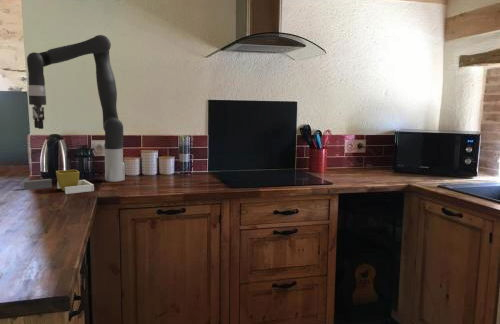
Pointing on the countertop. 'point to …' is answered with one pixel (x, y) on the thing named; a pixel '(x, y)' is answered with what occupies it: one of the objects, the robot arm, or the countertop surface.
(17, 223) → the countertop surface
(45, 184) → the tall gray bar
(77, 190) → the white shallow tray
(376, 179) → the countertop surface
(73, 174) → the flower pot
